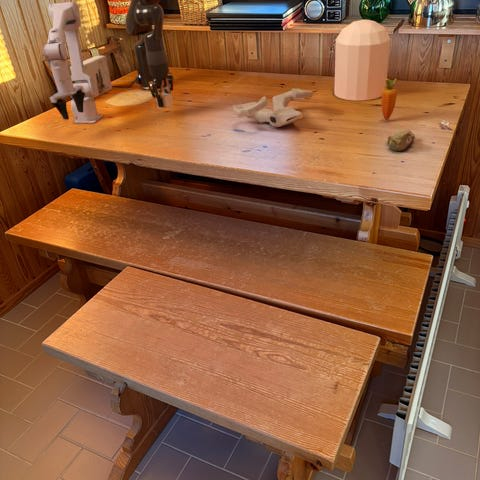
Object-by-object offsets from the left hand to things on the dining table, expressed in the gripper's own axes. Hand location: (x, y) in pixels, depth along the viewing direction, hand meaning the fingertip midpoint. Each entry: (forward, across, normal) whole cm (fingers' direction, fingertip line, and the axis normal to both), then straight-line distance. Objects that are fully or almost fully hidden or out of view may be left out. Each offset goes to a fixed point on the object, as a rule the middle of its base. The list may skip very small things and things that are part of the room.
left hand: (73, 115), depth 173 cm
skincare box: (+8, +43, +32) cm, 54 cm away
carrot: (+8, +47, -105) cm, 115 cm away
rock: (+8, +27, -115) cm, 118 cm away
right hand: (+4, +30, -20) cm, 36 cm away
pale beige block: (+5, +30, -20) cm, 36 cm away
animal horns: (+8, +33, -70) cm, 77 cm away
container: (+8, +75, -87) cm, 115 cm away
